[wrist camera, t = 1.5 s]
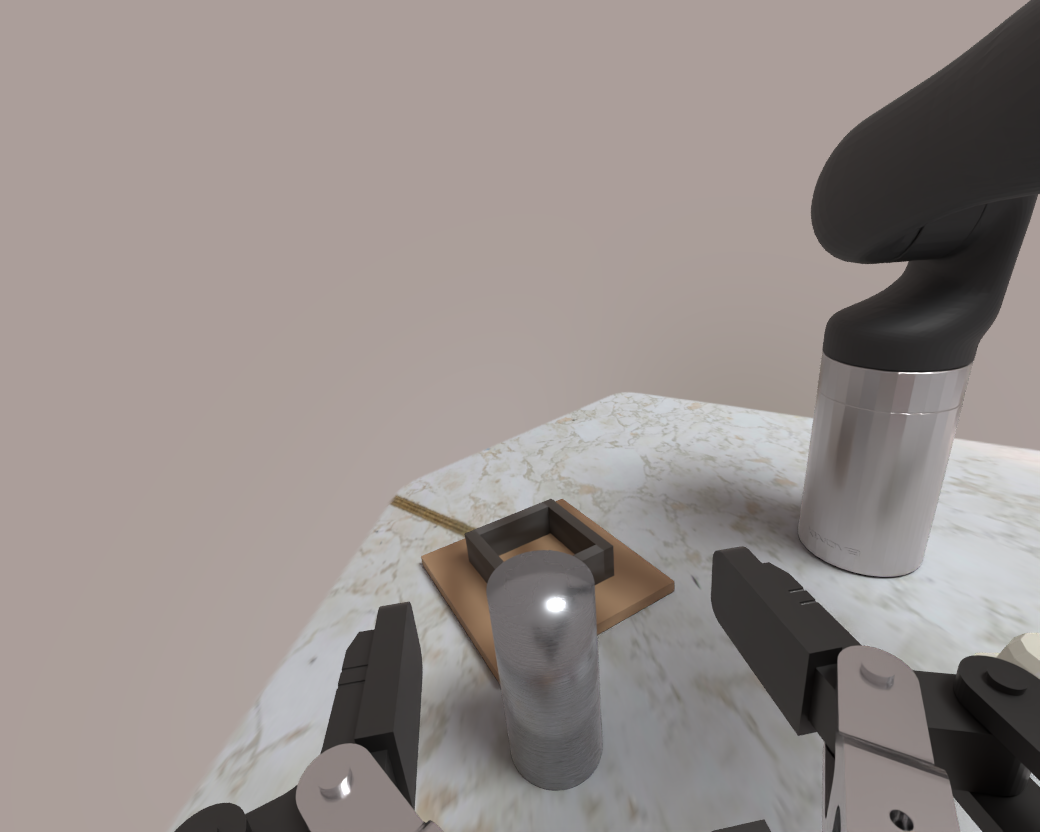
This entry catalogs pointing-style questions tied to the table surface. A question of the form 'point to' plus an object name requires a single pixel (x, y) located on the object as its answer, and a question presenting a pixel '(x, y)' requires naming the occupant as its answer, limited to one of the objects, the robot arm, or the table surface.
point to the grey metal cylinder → (548, 665)
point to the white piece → (1022, 652)
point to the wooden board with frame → (544, 526)
